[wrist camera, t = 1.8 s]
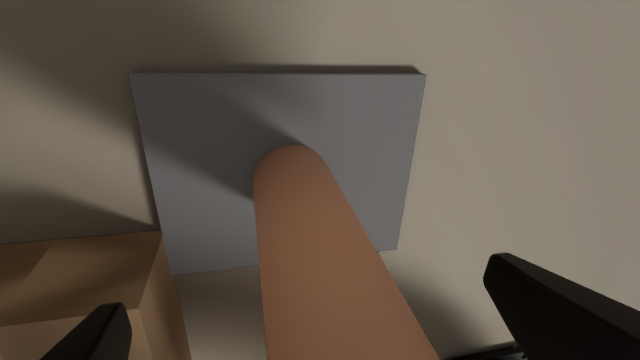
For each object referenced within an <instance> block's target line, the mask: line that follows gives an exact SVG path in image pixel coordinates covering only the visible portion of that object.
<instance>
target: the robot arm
mask: <svg viewBox="0 0 640 360" xmlns="http://www.w3.org/2000/svg"><path fill="white" fill-rule="evenodd" d="M483 282H484V286H485V288H486V290H487V291H488V293H489V295H490V297H491V299H492V300H493V302H494V304H495V306H496V308H497V309H498V311H499V313H500V315H501V317H502V318H503V320H504V322H505V324H506V326H507V327H508V329H509V331H510V333H511V334H512V336H513V338H514V339H515V341H516V343H517V344H518V346H519V347H515V348H510V349H505V350H500V351H495V352H490V353H485V354H480V355H475V356H470V357H464V358H459V359H454V360H640V311H638V310H636V309H633V308H631V307H629V306H627V305H624V304H622V303H620V302H618V301H615V300H613V299H611V298H609V297H606V296H604V295H602V294H600V293H597V292H595V291H593V290H591V289H588V288H586V287H584V286H582V285H579V284H577V283H575V282H573V281H571V280H568V279H566V278H564V277H562V276H559V275H557V274H555V273H553V272H550V271H548V270H546V269H544V268H541V267H539V266H537V265H535V264H532V263H530V262H528V261H526V260H523V259H521V258H519V257H517V256H514V255H512V254H510V253H497V254H493V255H491V256H490V258H489V261H488V264H487V267H486V270H485V273H484V276H483ZM131 341H132V327H131V324H130V321H129V318H128V314H127V311H126V308H125V305H124V304H123V303H122V302H111V303H104V304H101V305H99V306H98V307H96V308H95V309H94V310H93V311H92V312H91V313H90V314H89V315H88V316H86V317H85V318H84V319H83V320H82V321H81V322H80V323H79V324H78V325H77V326H75V327H74V328H73V329H72V330H71V331H70V332H69V333H68V334H67V335H66V336H64V337H63V338H62V339H61V340H60V341H59V342H58V343H57V344H56V345H55V346H53V347H52V348H51V349H50V350H49V351H48V352H47V353H46V354H45V355H44V356H42V357H41V358H40V359H39V360H128V357H129V352H130V346H131Z"/></svg>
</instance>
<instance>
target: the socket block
mask: <svg viewBox="0 0 640 360" xmlns="http://www.w3.org/2000/svg"><path fill="white" fill-rule="evenodd" d="M111 302H122V303H123V304H124V305H125V308H126V311H127V314H128V318H129V321H130V324H131V327H132V341H131V346H130V352H129V357H128V360H192V359H191V355H190V350H189V345H188V340H187V335H186V331H185V326H184V321H183V316H182V311H181V307H180V302H179V297H178V292H177V287H176V283H175V278H174V275H173V276H171V273H170V268H169V264H168V259H167V254H166V250H165V245H164V240H163V236H162V231H161V230H158V231H147V232H136V233H125V234H114V235H103V236H92V237H80V238H69V239H58V240H47V241H36V242H25V243H14V244H2V245H0V360H39V359H40V358H41V357H42V356H44V355H45V354H46V353H47V352H48V351H49V350H50V349H51V348H52V347H53V346H55V345H56V344H57V343H58V342H59V341H60V340H61V339H62V338H63V337H64V336H66V335H67V334H68V333H69V332H70V331H71V330H72V329H73V328H74V327H75V326H77V325H78V324H79V323H80V322H81V321H82V320H83V319H84V318H85V317H86V316H88V315H89V314H90V313H91V312H92V311H93V310H94V309H95V308H96V307H98V306H99V305H101V304H104V303H111Z"/></svg>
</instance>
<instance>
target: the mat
mask: <svg viewBox="0 0 640 360" xmlns="http://www.w3.org/2000/svg"><path fill="white" fill-rule="evenodd" d="M128 76H129V81H130V86H131V91H132V95H133V100H134V105H135V109H136V114H137V119H138V123H139V128H140V133H141V137H142V142H143V147H144V151H145V156H146V161H147V165H148V170H149V175H150V180H151V184H152V189H153V194H154V198H155V203H156V208H157V212H158V217H159V222H160V226H161V231H162V236H163V240H164V245H165V250H166V254H167V259H168V264H169V268H170V273H171V276H173V275H182V274H190V273H199V272H207V271H216V270H224V269H233V268H242V267H250V266H259V257H258V245H257V234H256V222H255V210H254V198H253V186H252V178H253V173H254V170H255V168H256V166H257V164H258V162H259V161H260V160H261V159H262V158H263V157H264V156H265V155H266V154H267V153H268V152H270V151H272V150H274V149H275V148H278V147H281V146H285V145H301V146H305V147H308V148H310V149H312V150H314V151H316V152H317V153H318V154H319V155H320V156H321V157H322V158H323V160H324V161H325V163H326V164H327V166H328V168H329V170H330V171H331V173H332V175H333V176H334V178H335V180H336V182H337V183H338V185H339V187H340V189H341V190H342V192H343V194H344V195H345V197H346V199H347V201H348V202H349V204H350V206H351V207H352V209H353V211H354V213H355V214H356V216H357V218H358V219H359V221H360V223H361V225H362V226H363V228H364V230H365V231H366V233H367V235H368V237H369V238H370V240H371V242H372V243H373V245H374V247H375V249H376V250H377V252H379V251H387V250H396V249H397V244H398V238H399V232H400V226H401V221H402V215H403V209H404V203H405V197H406V191H407V186H408V180H409V174H410V168H411V162H412V156H413V151H414V145H415V139H416V133H417V127H418V122H419V116H420V110H421V104H422V98H423V92H424V87H425V81H426V74H423V73H184V72H132V73H130V74H128Z"/></svg>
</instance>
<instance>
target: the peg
mask: <svg viewBox="0 0 640 360" xmlns="http://www.w3.org/2000/svg"><path fill="white" fill-rule="evenodd" d="M252 186H253V198H254V210H255V222H256V234H257V245H258V257H259V269H260V281H261V292H262V304H263V316H264V328H265V340H266V351H267V360H440V358H439V357H438V355H437V353H436V352H435V350H434V348H433V346H432V345H431V343H430V341H429V340H428V338H427V336H426V334H425V333H424V331H423V329H422V328H421V326H420V324H419V322H418V321H417V319H416V317H415V316H414V314H413V312H412V310H411V309H410V307H409V305H408V303H407V302H406V300H405V298H404V297H403V295H402V293H401V291H400V290H399V288H398V286H397V285H396V283H395V281H394V279H393V278H392V276H391V274H390V273H389V271H388V269H387V267H386V266H385V264H384V262H383V261H382V259H381V257H380V255H379V254H378V252H377V250H376V249H375V247H374V245H373V243H372V242H371V240H370V238H369V237H368V235H367V233H366V231H365V230H364V228H363V226H362V225H361V223H360V221H359V219H358V218H357V216H356V214H355V213H354V211H353V209H352V207H351V206H350V204H349V202H348V201H347V199H346V197H345V195H344V194H343V192H342V190H341V189H340V187H339V185H338V183H337V182H336V180H335V178H334V176H333V175H332V173H331V171H330V170H329V168H328V166H327V164H326V163H325V161H324V160H323V158H322V157H321V156H320V155H319V154H318V153H317V152H316V151H314V150H312V149H310V148H308V147H305V146H301V145H285V146H281V147H278V148H275V149H274V150H272V151H270V152H268V153H267V154H266V155H265V156H264V157H263V158H262V159H261V160H260V161H259V162H258V164H257V166H256V168H255V170H254V173H253V178H252Z"/></svg>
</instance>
